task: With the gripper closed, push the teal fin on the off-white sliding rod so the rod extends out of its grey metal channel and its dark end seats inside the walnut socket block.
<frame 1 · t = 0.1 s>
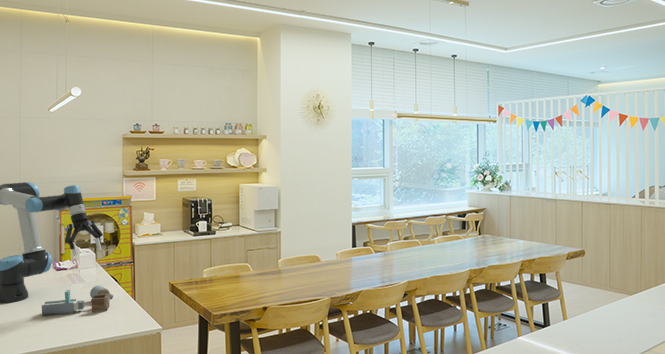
hand: (88, 252, 256), 28 cm above the counter, tool tilted 20°, fingers open, 13 cm apart
rod: (63, 300, 245), point 6 cm above the counter, slide at 0.0 cm
ceramic mug: (102, 300, 266), on the counter
socket: (100, 309, 250), on the counter
channel: (59, 312, 245), on the counter
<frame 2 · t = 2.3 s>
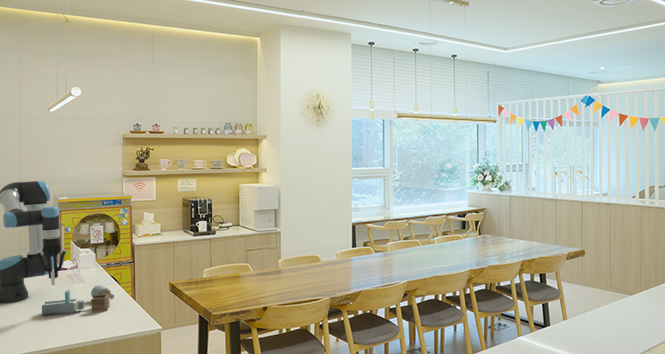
hand: (53, 284, 243), 15 cm above the counter, tool pointing down, fingers closed
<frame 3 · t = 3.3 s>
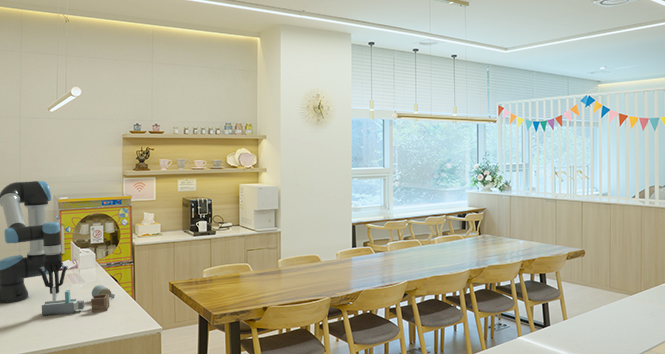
hand: (55, 299, 244), 7 cm above the counter, tool pointing down, fingers closed
nothing on the counter moved.
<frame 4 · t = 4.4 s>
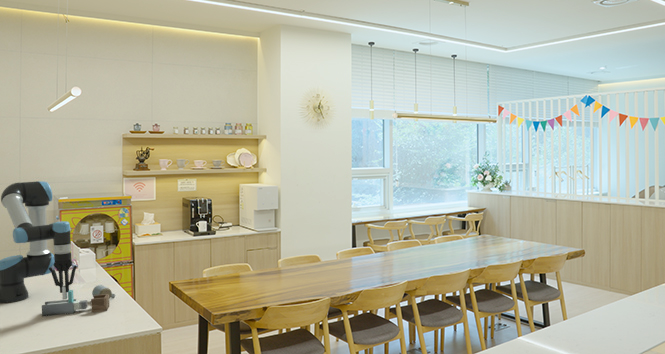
hand: (64, 298, 245), 7 cm above the counter, tool pointing down, fingers closed
rod: (66, 300, 245), point 6 cm above the counter, slide at 1.4 cm, touching gripper
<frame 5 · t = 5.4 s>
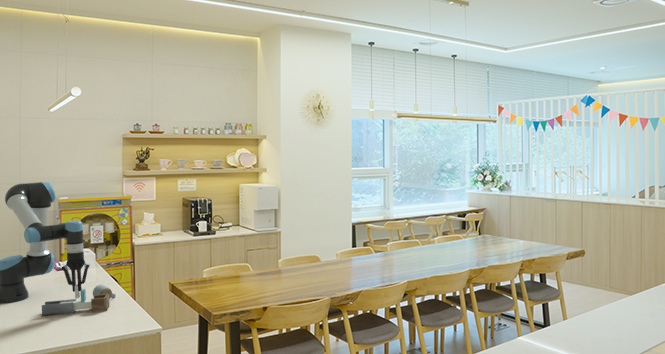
hand: (77, 297, 246), 7 cm above the counter, tool pointing down, fingers closed
rod: (79, 299, 247), point 6 cm above the counter, slide at 7.1 cm, touching gripper
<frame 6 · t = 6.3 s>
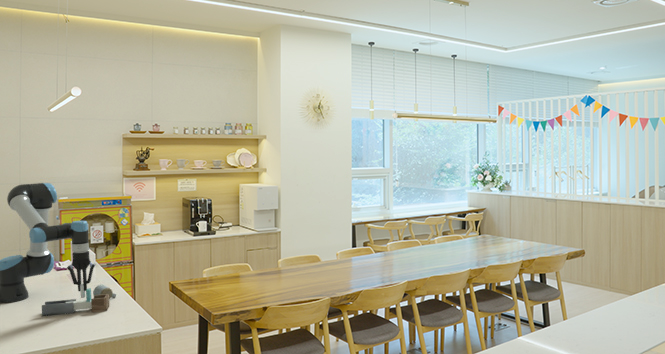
hand: (82, 297, 247), 7 cm above the counter, tool pointing down, fingers closed
rod: (84, 298, 248), point 6 cm above the counter, slide at 9.7 cm, touching gripper
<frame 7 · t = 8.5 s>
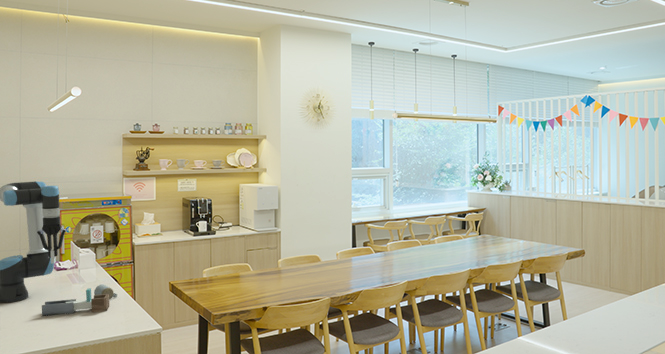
hand: (53, 262, 245), 25 cm above the counter, tool pointing down, fingers closed
rod: (84, 298, 248), point 6 cm above the counter, slide at 9.7 cm
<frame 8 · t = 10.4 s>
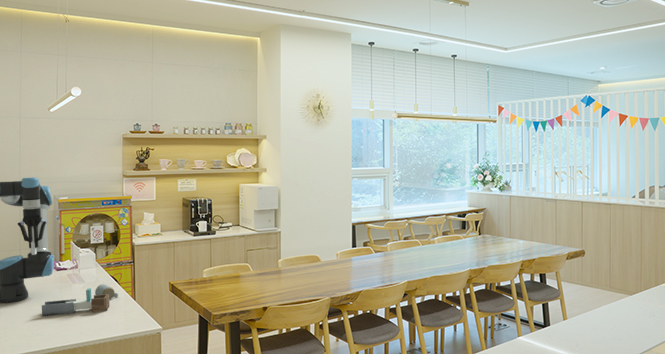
hand: (34, 254, 246), 29 cm above the counter, tool pointing down, fingers closed
at the end: rod slide at 9.7 cm; rod touching nothing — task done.
